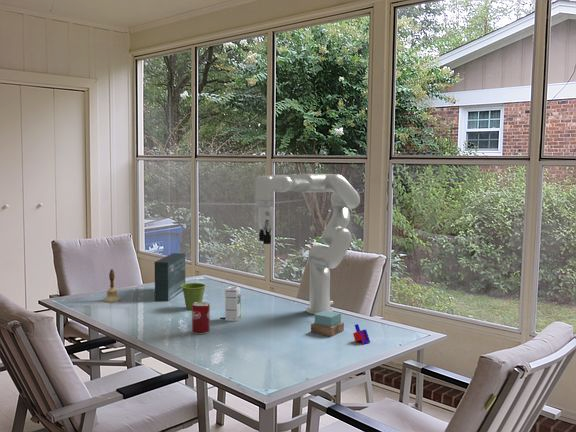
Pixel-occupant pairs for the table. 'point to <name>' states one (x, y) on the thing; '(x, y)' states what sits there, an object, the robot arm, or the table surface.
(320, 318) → the tower top block
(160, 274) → the dark green box
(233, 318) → the syrup box
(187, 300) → the plant pot
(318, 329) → the tower base block
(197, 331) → the soda can
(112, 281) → the hand bell
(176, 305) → the table surface
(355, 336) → the dreidel
